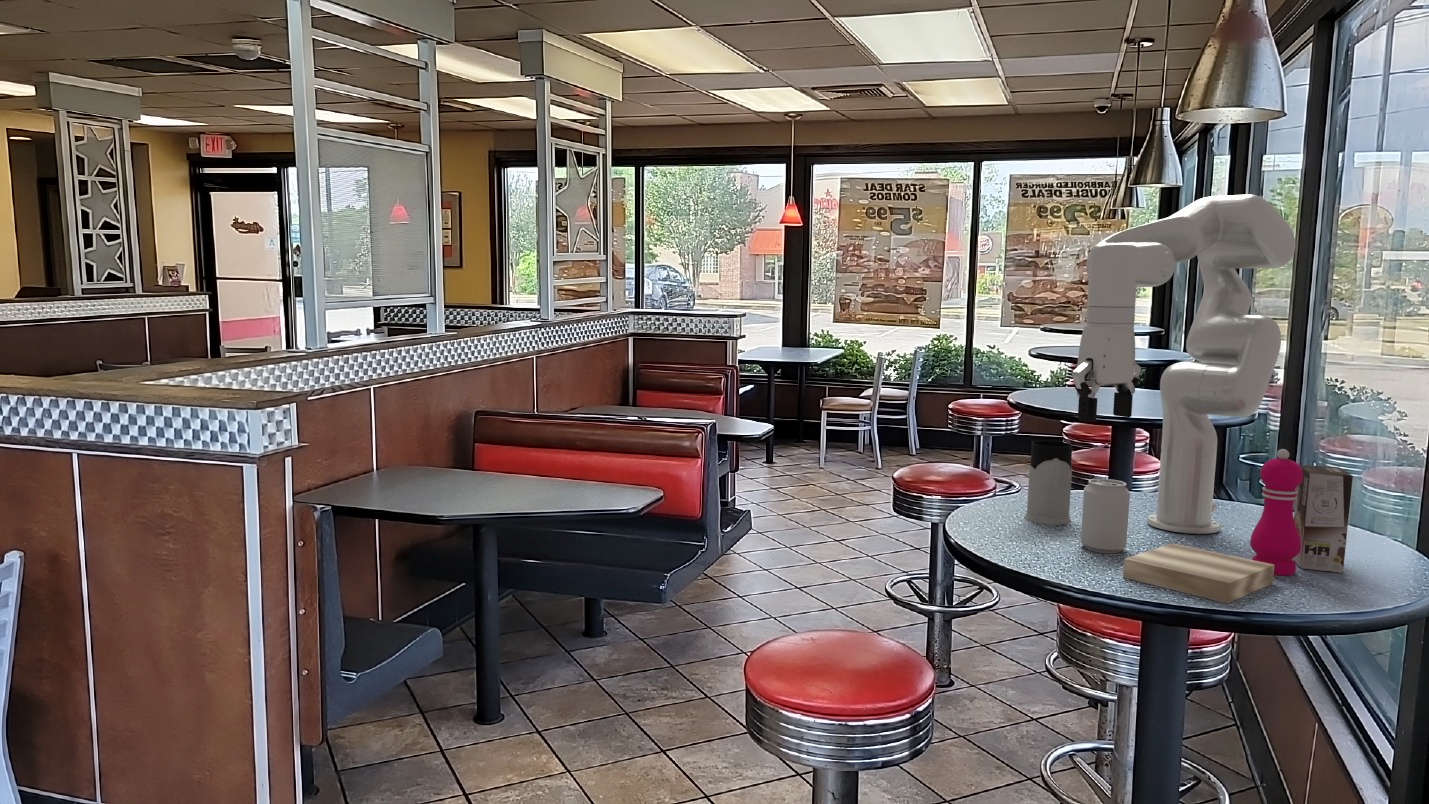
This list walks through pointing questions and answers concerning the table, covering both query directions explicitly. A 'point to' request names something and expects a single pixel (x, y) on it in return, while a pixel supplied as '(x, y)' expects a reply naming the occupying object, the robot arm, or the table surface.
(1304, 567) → the coffee box
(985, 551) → the table surface
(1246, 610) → the table surface
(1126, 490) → the can
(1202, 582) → the plinth
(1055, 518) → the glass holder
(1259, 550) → the pepper mill
